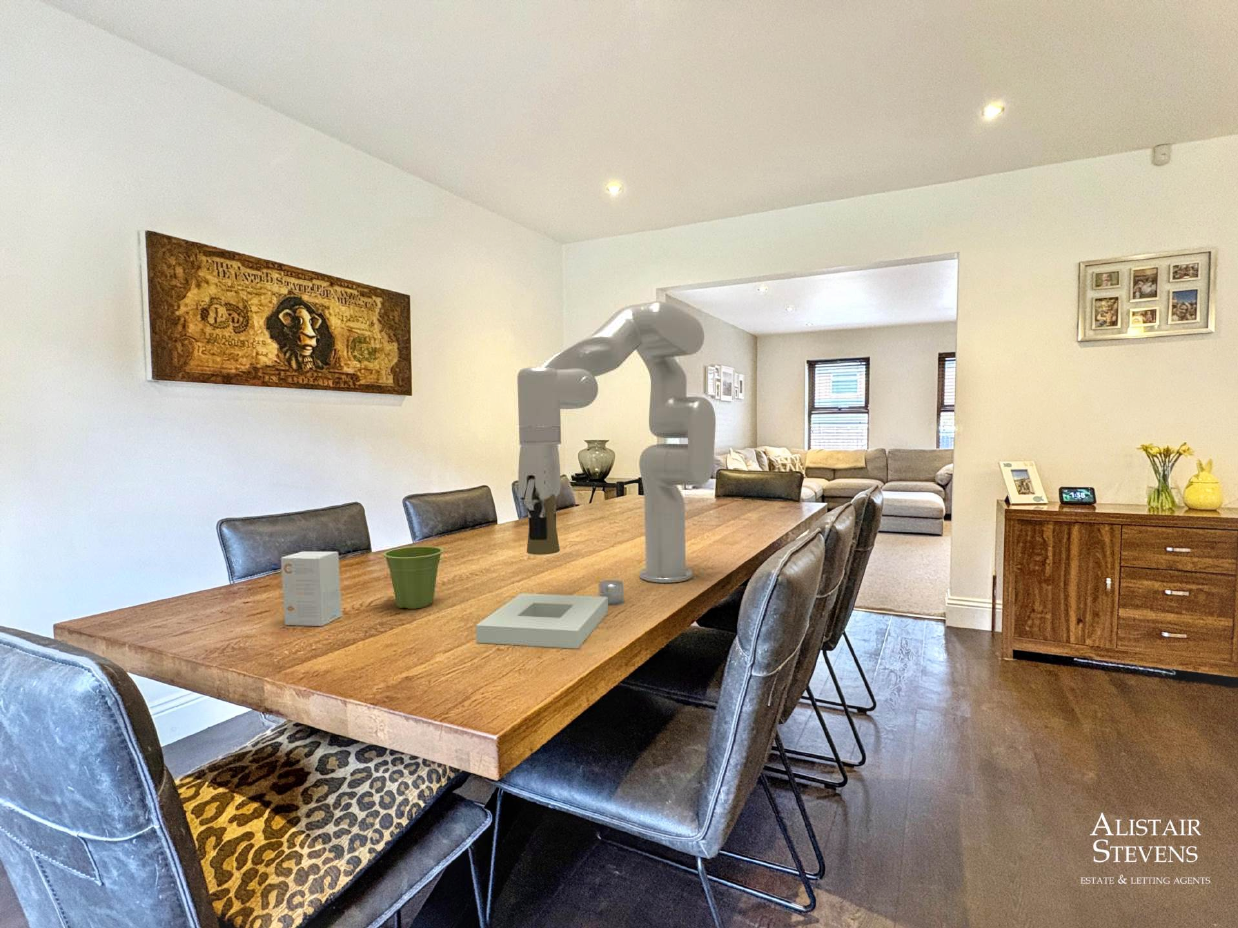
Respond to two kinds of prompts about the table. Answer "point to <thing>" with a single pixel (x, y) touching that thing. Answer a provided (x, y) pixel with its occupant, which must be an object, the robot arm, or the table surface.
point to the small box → (311, 588)
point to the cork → (552, 539)
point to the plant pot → (413, 574)
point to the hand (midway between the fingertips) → (543, 535)
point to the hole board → (543, 621)
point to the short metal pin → (612, 591)
